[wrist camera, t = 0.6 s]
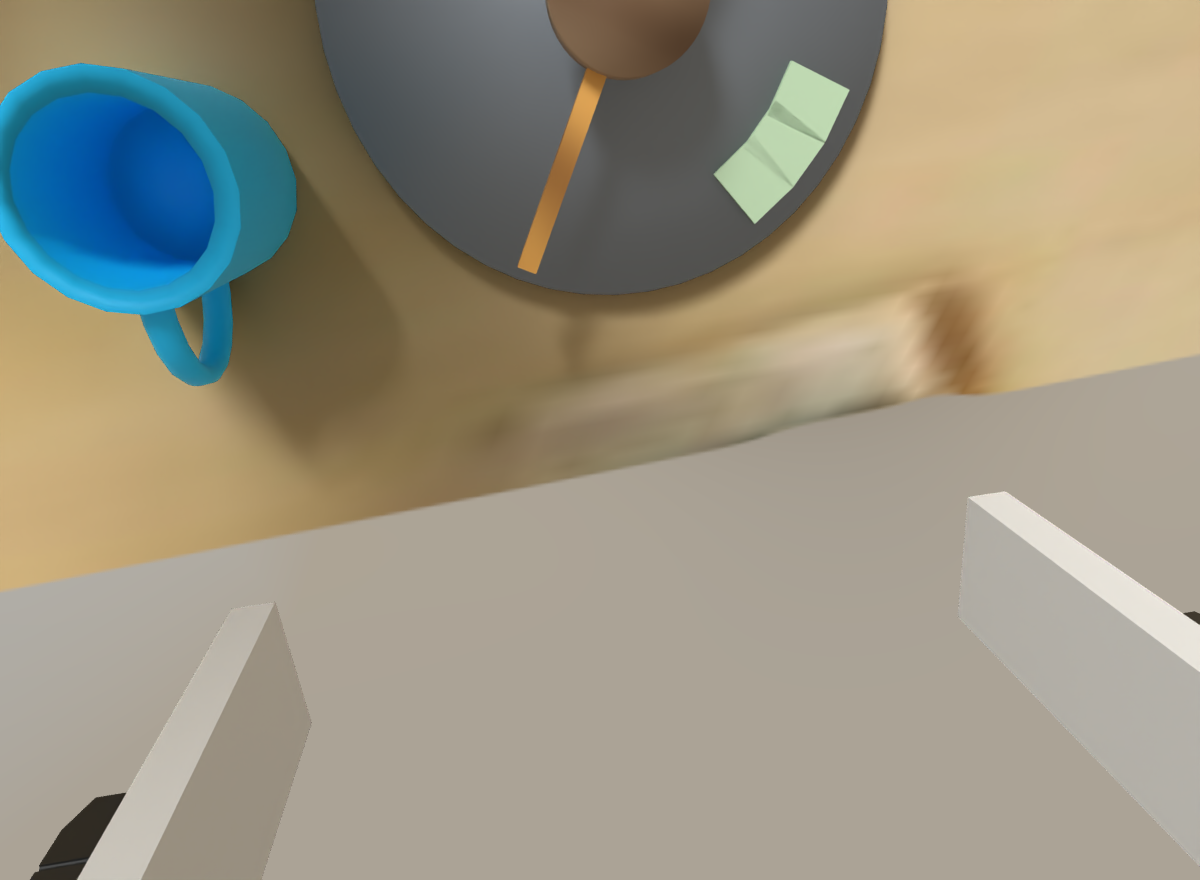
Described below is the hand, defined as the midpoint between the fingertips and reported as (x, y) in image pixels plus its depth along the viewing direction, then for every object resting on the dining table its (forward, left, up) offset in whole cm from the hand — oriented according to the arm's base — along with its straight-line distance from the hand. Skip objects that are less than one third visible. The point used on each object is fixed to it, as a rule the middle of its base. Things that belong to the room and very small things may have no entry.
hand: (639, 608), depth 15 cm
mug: (-10, -12, -25) cm, 30 cm away
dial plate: (-11, +8, -25) cm, 29 cm away
